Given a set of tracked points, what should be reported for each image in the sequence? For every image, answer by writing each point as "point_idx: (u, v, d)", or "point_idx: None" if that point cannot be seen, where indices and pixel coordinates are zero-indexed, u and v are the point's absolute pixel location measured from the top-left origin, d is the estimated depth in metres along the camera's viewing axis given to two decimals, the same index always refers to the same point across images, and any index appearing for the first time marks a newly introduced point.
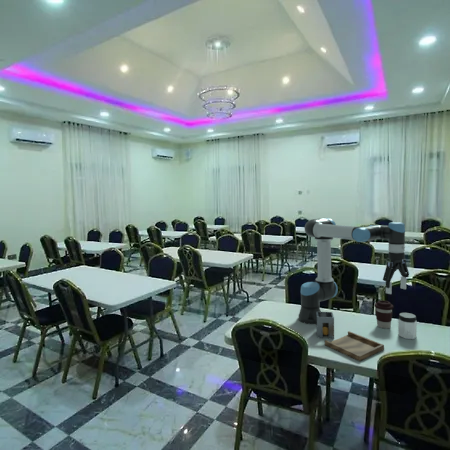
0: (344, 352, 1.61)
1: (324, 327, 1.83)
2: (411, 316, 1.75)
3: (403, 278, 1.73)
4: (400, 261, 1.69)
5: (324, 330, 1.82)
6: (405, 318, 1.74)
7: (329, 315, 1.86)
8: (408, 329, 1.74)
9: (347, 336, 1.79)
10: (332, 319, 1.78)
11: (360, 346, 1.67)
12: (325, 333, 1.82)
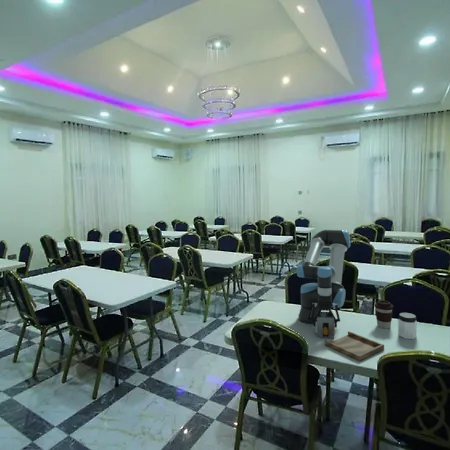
0: (344, 352, 1.61)
1: (324, 327, 1.83)
2: (411, 316, 1.75)
3: None
4: (328, 303, 1.81)
5: (324, 330, 1.82)
6: (405, 318, 1.74)
7: (329, 315, 1.86)
8: (408, 329, 1.74)
9: (347, 336, 1.79)
10: (332, 319, 1.78)
11: (360, 346, 1.67)
12: (325, 333, 1.82)
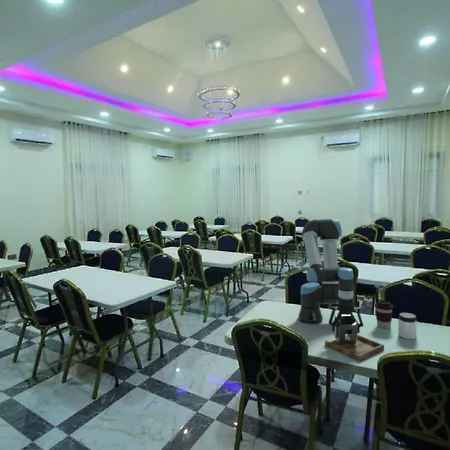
0: (344, 352, 1.61)
1: None
2: (411, 316, 1.75)
3: None
4: (349, 307, 1.68)
5: None
6: (405, 318, 1.74)
7: (348, 318, 1.74)
8: (408, 329, 1.74)
9: (347, 336, 1.79)
10: (356, 326, 1.66)
11: (360, 346, 1.67)
12: None
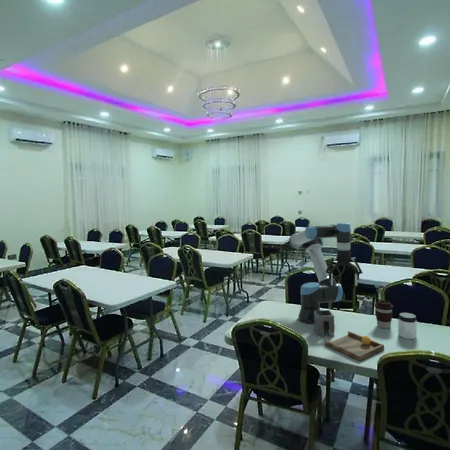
0: (344, 352, 1.61)
1: None
2: (411, 316, 1.75)
3: (355, 275, 1.87)
4: (347, 258, 1.86)
5: (370, 342, 1.68)
6: (405, 318, 1.74)
7: (326, 313, 1.89)
8: (408, 329, 1.74)
9: (347, 336, 1.79)
10: (332, 317, 1.81)
11: (360, 346, 1.67)
12: (368, 344, 1.67)
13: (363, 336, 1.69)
